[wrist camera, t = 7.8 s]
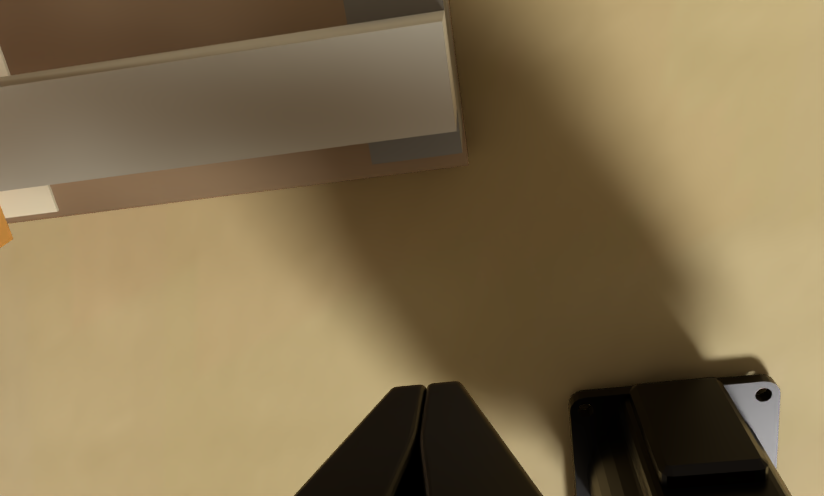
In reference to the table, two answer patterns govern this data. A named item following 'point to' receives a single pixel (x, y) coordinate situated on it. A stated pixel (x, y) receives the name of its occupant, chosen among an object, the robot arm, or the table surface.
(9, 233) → the collar
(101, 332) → the table surface
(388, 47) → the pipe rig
